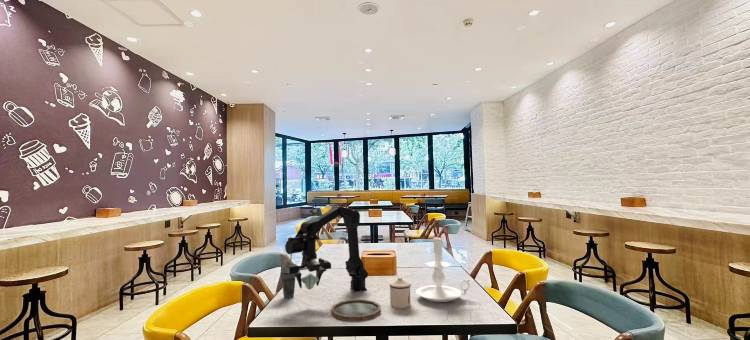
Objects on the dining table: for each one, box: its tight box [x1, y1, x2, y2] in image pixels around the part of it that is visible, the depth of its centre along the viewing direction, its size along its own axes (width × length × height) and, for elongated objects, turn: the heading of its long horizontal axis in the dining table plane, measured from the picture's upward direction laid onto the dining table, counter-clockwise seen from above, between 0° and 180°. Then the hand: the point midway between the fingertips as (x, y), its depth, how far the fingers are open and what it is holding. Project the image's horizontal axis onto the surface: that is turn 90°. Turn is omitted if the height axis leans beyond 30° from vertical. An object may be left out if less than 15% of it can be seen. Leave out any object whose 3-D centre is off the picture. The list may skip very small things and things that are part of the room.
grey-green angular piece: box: [301, 273, 319, 291], centre depth 146 cm, size 8×4×7 cm, turn 96°
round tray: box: [330, 298, 382, 322], centre depth 137 cm, size 20×20×2 cm
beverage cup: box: [280, 254, 296, 299], centre depth 157 cm, size 7×7×20 cm
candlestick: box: [415, 236, 471, 303], centre depth 152 cm, size 21×25×28 cm
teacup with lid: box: [389, 276, 411, 309], centre depth 145 cm, size 12×9×12 cm
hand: (309, 286), depth 146 cm, fingers closed on grey-green angular piece, 7 cm apart
